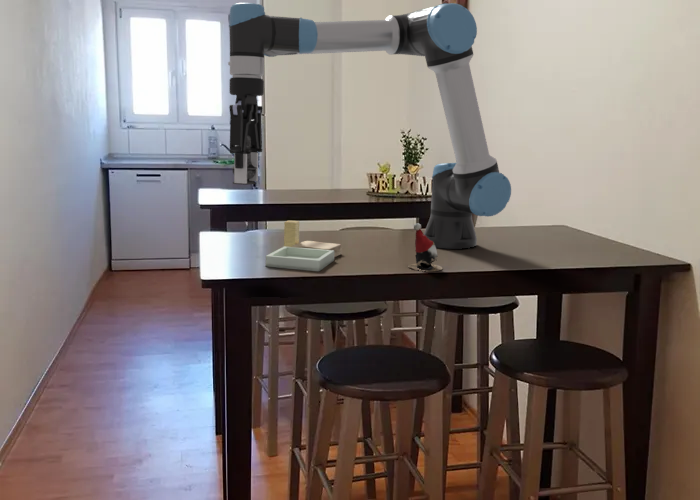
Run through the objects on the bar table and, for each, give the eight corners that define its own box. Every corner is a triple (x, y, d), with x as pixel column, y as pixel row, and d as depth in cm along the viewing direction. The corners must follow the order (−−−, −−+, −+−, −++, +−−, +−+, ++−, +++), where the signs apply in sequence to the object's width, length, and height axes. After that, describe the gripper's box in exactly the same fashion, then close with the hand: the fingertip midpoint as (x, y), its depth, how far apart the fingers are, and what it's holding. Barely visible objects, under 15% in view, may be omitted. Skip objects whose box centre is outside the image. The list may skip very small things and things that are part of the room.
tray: (334, 260, 174) (334, 250, 174) (319, 271, 162) (319, 260, 161) (284, 256, 177) (284, 246, 177) (265, 266, 165) (265, 255, 165)
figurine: (459, 253, 169) (431, 224, 163) (438, 287, 167) (409, 259, 161) (436, 247, 176) (408, 219, 170) (416, 280, 174) (387, 253, 167)
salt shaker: (232, 181, 164) (232, 129, 161) (257, 182, 164) (258, 130, 162) (230, 184, 158) (230, 130, 156) (256, 185, 159) (257, 130, 156)
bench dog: (298, 251, 184) (299, 221, 182) (295, 253, 181) (295, 222, 179) (287, 250, 184) (288, 220, 183) (283, 252, 182) (284, 221, 180)
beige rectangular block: (340, 255, 183) (341, 244, 182) (328, 261, 175) (328, 249, 175) (306, 251, 186) (306, 240, 186) (292, 256, 179) (292, 245, 178)
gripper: (247, 79, 166) (246, 177, 171) (212, 74, 148) (213, 184, 153) (277, 79, 165) (276, 179, 169) (246, 75, 147) (245, 186, 151)
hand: (246, 181), depth 161 cm, fingers closed on salt shaker, 6 cm apart
